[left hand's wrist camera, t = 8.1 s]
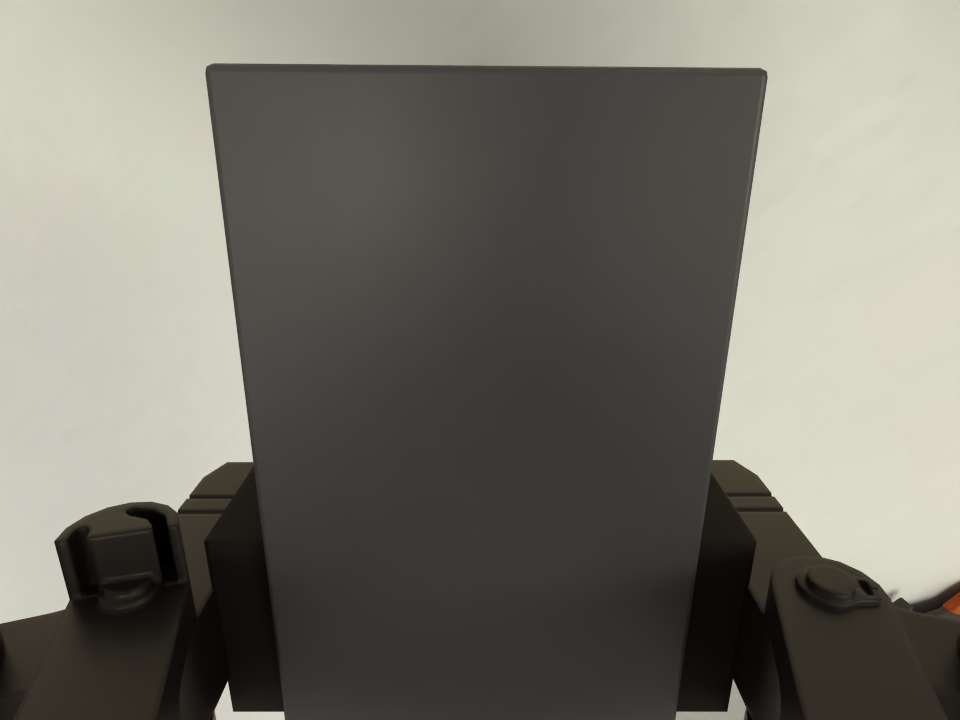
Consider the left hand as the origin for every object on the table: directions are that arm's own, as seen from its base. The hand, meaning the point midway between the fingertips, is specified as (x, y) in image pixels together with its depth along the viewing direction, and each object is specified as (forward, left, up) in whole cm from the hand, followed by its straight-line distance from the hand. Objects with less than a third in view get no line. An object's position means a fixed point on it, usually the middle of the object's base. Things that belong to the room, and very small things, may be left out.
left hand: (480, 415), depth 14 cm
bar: (+32, +7, -1) cm, 33 cm away
